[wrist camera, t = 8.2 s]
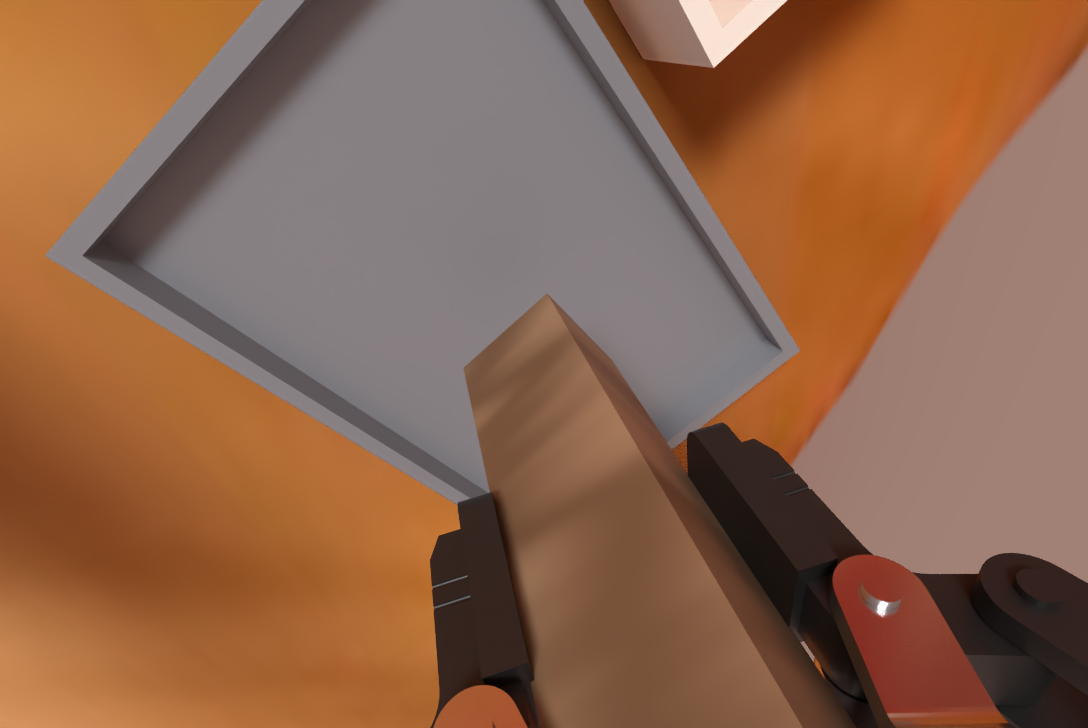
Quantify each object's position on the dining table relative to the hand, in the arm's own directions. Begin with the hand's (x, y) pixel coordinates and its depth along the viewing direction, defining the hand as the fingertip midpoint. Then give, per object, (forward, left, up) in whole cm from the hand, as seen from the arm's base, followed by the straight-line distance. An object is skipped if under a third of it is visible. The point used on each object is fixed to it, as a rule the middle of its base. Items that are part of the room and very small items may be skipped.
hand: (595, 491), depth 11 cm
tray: (0, 0, -11) cm, 11 cm away
